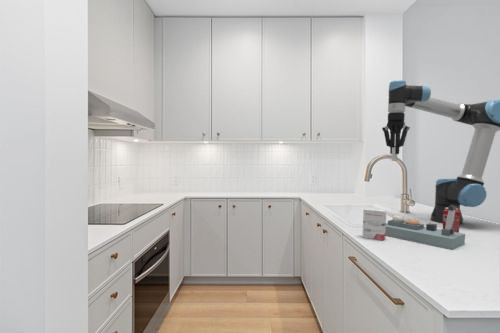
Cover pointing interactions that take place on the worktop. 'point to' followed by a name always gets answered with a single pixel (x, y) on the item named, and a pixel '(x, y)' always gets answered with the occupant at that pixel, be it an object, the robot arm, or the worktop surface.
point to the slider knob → (431, 227)
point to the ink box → (374, 224)
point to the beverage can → (455, 221)
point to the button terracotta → (413, 222)
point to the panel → (425, 235)
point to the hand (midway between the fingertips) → (394, 160)
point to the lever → (450, 217)
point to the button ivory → (398, 218)
